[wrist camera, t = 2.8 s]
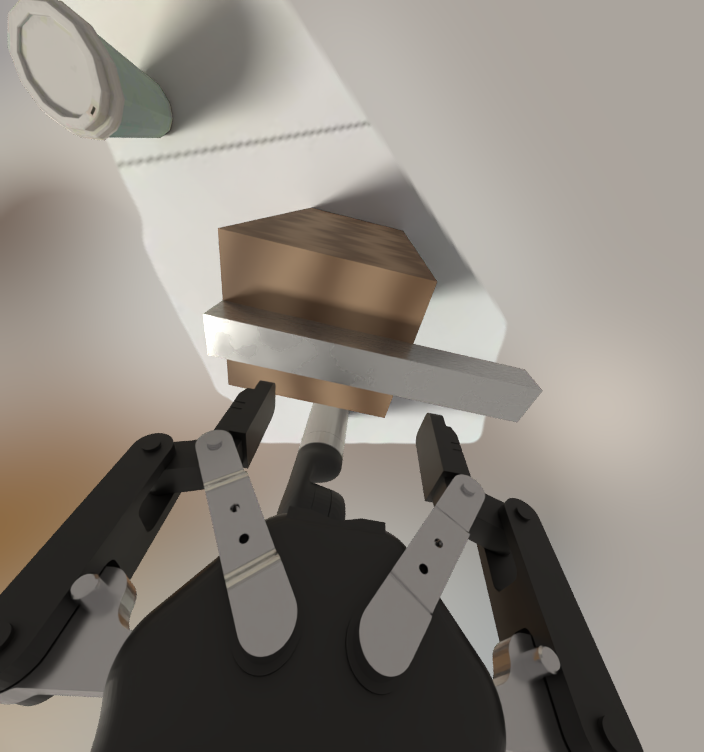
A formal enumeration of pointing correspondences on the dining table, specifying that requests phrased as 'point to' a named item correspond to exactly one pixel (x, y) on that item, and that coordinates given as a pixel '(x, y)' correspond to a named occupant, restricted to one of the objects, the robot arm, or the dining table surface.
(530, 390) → the metal bar
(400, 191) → the dining table surface
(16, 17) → the disposable coffee cup
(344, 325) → the walnut shelf
